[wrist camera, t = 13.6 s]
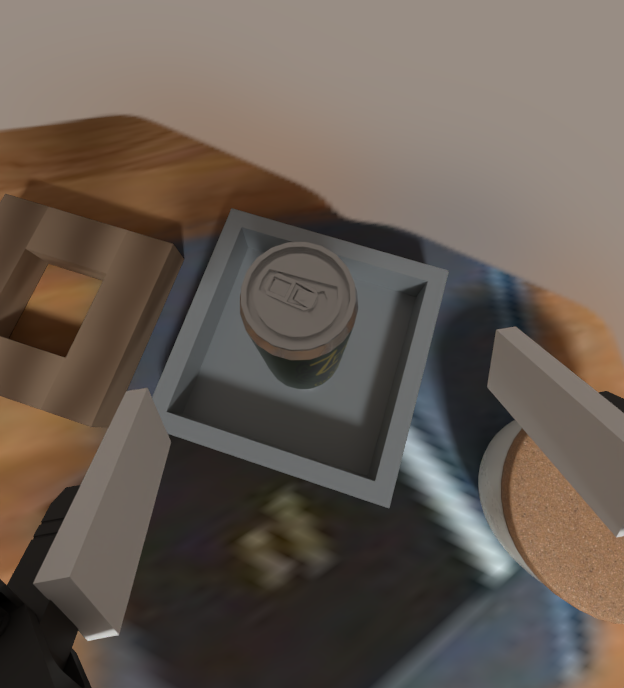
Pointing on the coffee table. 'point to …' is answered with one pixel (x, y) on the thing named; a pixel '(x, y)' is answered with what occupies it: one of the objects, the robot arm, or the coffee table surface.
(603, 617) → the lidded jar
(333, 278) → the beer can
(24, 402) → the socket block
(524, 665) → the coffee table surface
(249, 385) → the bin
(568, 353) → the coffee table surface
